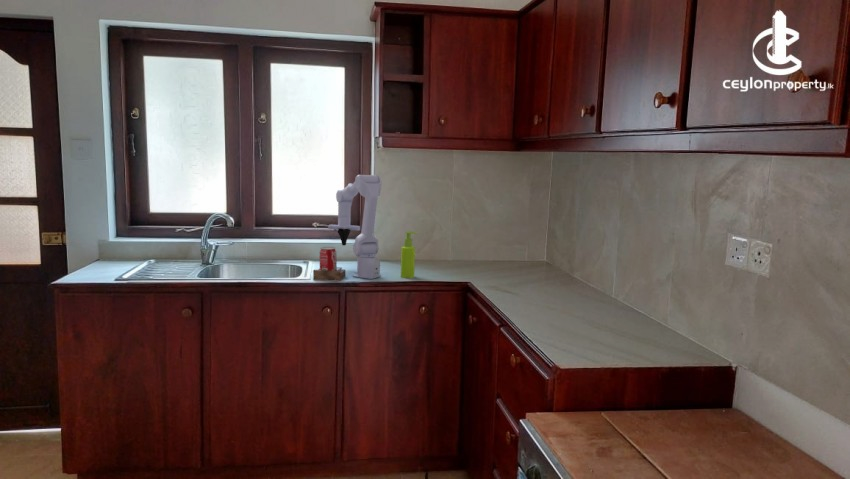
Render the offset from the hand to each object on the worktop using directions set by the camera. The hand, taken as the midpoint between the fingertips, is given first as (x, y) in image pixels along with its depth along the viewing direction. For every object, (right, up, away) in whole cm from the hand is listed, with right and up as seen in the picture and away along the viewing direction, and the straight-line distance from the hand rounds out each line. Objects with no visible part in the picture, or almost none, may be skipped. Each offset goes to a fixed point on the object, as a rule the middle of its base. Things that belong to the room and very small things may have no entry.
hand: (344, 245), depth 274 cm
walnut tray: (-3, -14, -23) cm, 27 cm away
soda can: (-4, -14, -23) cm, 27 cm away
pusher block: (-3, -13, -16) cm, 21 cm away
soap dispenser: (+31, -14, -16) cm, 37 cm away
